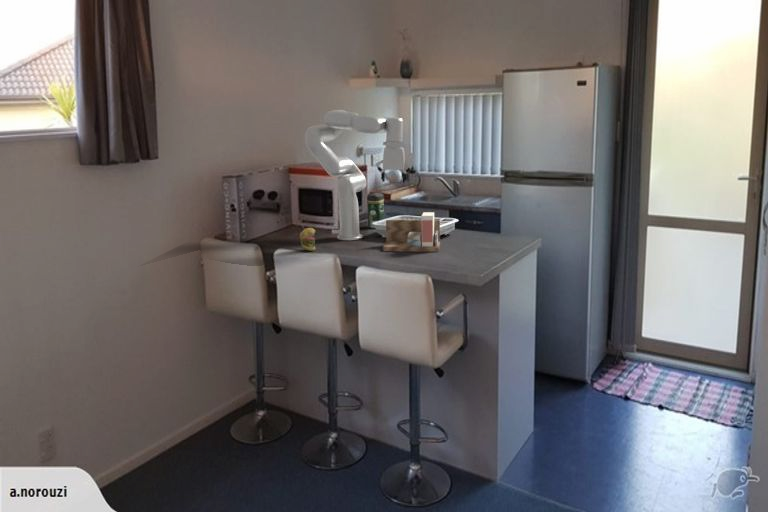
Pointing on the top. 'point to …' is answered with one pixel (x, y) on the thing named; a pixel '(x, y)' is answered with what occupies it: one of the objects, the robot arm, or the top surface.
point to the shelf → (402, 235)
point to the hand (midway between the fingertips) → (393, 181)
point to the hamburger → (308, 239)
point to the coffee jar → (375, 208)
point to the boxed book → (428, 229)
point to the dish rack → (445, 223)
